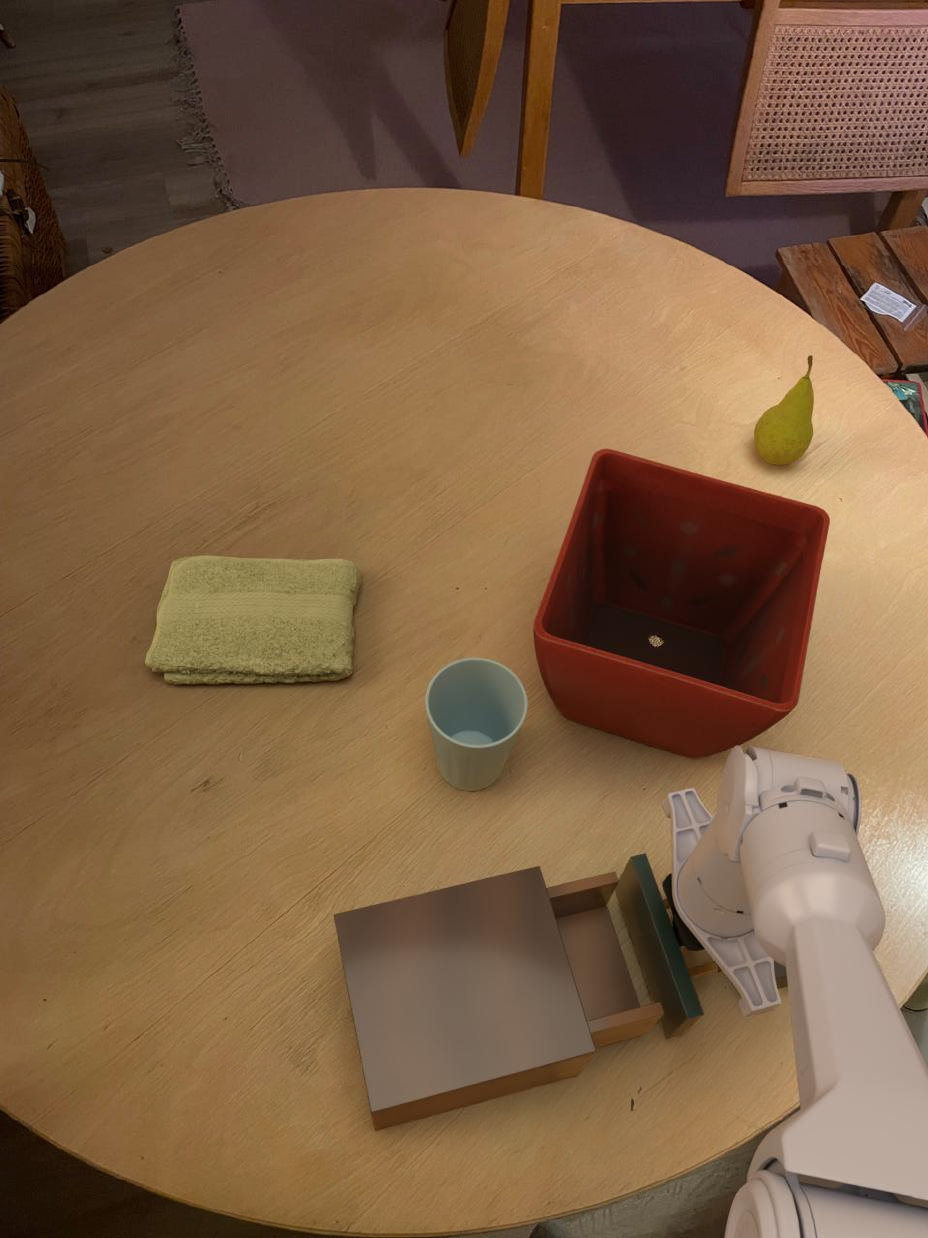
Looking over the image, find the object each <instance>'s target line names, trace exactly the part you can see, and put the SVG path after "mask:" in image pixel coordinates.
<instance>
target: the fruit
mask: <svg viewBox="0 0 928 1238" xmlns="http://www.w3.org/2000/svg"><path fill="white" fill-rule="evenodd" d="M806 360H807V365H808V367H807V370H806V371H807V372H806V374H805V375H804V376H801V377H800V378H799V379H798V381H797V383H796V384H795V385H794V386H793V387H792V388H791V389H790V390H789V391H787V393H786V394H785V396H784V397H783V398H782V399H781V401H780V402H779V403H778V404H776V405H773V406H771V407H770V408H768V409H767V410H766V411H764V412H763V413H762V414H761V416H760V417H759V418H758V420H757V422H756V423H755V426H754V429H753V441H754V447H755V449H756V453H757V454H758V456H759V457H760V458H761V459H762V460H764V461H765V462H767V463H768V464H772V465H778V466H779V465H780V466H782V465H788V464H791V463H794V462H796V461H797V460H799V459H800V458H802V457H803V456H804V454H806V453H807V450H808V449H809V447H810V445H811V443H812V440H813V436H814V425H813V412H814V404H815V403H814V402H815V394H814V388H813V383H812V380H811V378H810V375H811V372H812V368H813V360H814V359H813V355H811V354H810V355H808V356H807V359H806Z"/></svg>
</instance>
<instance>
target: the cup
mask: <svg viewBox="0 0 928 1238" xmlns="http://www.w3.org/2000/svg"><path fill="white" fill-rule="evenodd" d="M424 705H425V707H424V708H425V712H426V717H427V722H428V726H429V730H430V734H431V741H432V746H433V750H434V755H435V759H436V760H435V761H436V764H437V769H438V772H439V773H440V775H441V776H442V778H443V779H444V781H445V782H446V783H448V784H449V785H450V786H451V787H454V788H455V789H457V790H460V791H464V792H465V791H466V792H476V791H477V792H478V791H481V790H485V789H486V788H489V787H490V786H492V785H493V784H494V783H495V782H496V781H497V780H498V779H499V778H500V775H501V774H502V772H503V769H504V767H505V765H506V762H507V760H508V758H509V756H510V753H511V751H512V749H513V747H514V744H515V742H516V739H517V738H518V735H519V734H520V732H521V729H522V727H523V725H524V723H525V721H526V718H527V714H528V710H529V709H528V708H529V700H528V694H527V691H526V688H525V686H524V684H523V682H522V680H521V679H520V678H519V676H518V675H517V674H516V673H515V672H514V671H513V670H511V669H510V668H509V667H508V666H506V665H504V664H502V663H501V662H498V661H497V660H493V659H489V658H485V657H466V658H465V657H464V658H460V659H457V660H455V661H452V662H450V663H448V664H446V665H445V666H443V667H442V668H441V669H440V670H438V671H437V672H436V673H435V675H434V676H433V677H432V679H431V680H430V682H429V684H428V686H427V688H426V692H425V698H424Z"/></svg>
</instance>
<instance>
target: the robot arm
mask: <svg viewBox="0 0 928 1238" xmlns="http://www.w3.org/2000/svg"><path fill="white" fill-rule="evenodd" d="M862 803H863V802H862V789H861V786H860V782H859V779H858V778H857V776H856V775H855V774H853V773H847V770H846V769H845V766H844V765H843V764H842V763H841V762H840V761H836V760H830V759H825V758H819V757H814V756H807V755H803V754H798V753H791V752H787V751H786V752H785V751H781V750H776V749H770V748H769V749H768V748H764V747H759V746H758V747H757V746H748V747H747V748H746V749H745V750H744V751H743V748H742V746H741V745H739V746H738V745H737V746H735V747H734V748H731V749H730V752H729V754H728V756H727V758H726V762H725V764H724V767H723V771H722V775H721V779H720V782H719V786H718V791H717V798H716V808H715V810H716V811H715V814H714V816H713V815H712V813H711V812H710V811H709V810H708V808H707V807H706V806H705V804H704V803H703V801H702V800H701V798H700V796H699V794H698V792H697V789H696V787H690V788H689V787H688V788H683V789H681V790H676V791H672V792H667V794H666V796H665V798H664V800H663V802H662V804H661V806H662V809H663V812H664V814H665V817H667V818H669V819H670V840H671V841H670V845H671V846H670V847H671V848H670V849H671V855H670V856H671V873H668V874H667V875H666V876H665V877H664V879H663V881H662V883H661V884H662V885H661V886H662V890H663V891H664V895H665V899H667V901H668V903H669V906H670V908H669V909H670V912H671V916H672V917H671V924H672V927H673V930H674V932H675V935H676V938H677V941H678V943H679V946H680V948H686V951H688V952H700V951H706V952H707V953H708V955H709V956H710V957H711V959H712V960H713V959H714V961H715V962H716V963H717V965H718V966H719V967H720V968H721V970H722V971H723V972H724V973H725V974H724V975H725V977H727V979H728V980H729V981H730V982H731V983H732V985H733V987H734V988H735V989H736V991H737V992H738V994H739V995H740V997H741V998H740V999H739V1000H738V1006H739V1009H740V1011H741V1014H742V1016H743V1018H744V1019H747V1018H751V1017H755V1016H758V1015H762V1014H766V1013H769V1012H772V1011H774V1010H775V1009H776V1008H779V1006H780V1005H781V1004H783V1001H782V998H781V995H780V992H779V989H777V985H776V980H775V972H774V960H775V961H776V962H778V963H779V964H781V965H783V966H785V967H786V972H787V982H788V986H787V991H788V1000H789V1001H788V1002H789V1011H790V1020H791V1031H792V1040H793V1041H792V1042H793V1050H794V1059H795V1070H796V1079H797V1081H796V1082H797V1089H798V1090H797V1091H798V1098H799V1099H798V1100H799V1110H797V1111H796V1112H794V1113H793V1114H792V1115H790V1116H789V1117H787V1118H786V1119H785V1120H784V1121H783V1122H781V1123H780V1124H778V1125H777V1126H775V1127H773V1128H772V1129H771V1130H770V1131H769V1132H768V1133H767V1134H766V1135H765V1136H764V1138H763V1139H762V1140H761V1141H760V1143H759V1145H758V1146H757V1148H756V1150H755V1152H754V1155H753V1157H752V1160H751V1162H750V1165H749V1168H748V1171H747V1174H746V1183H744V1184H743V1185H742V1186H740V1188H739V1189H738V1190H737V1192H736V1194H735V1195H734V1198H733V1200H732V1202H731V1206H730V1209H729V1212H728V1217H727V1221H726V1226H725V1230H724V1237H723V1238H928V1065H927V1064H926V1061H925V1059H924V1058H923V1054H922V1053H921V1051H920V1049H919V1047H918V1045H917V1042H916V1040H915V1037H914V1036H913V1034H912V1032H911V1029H910V1028H909V1025H908V1024H907V1021H906V1019H905V1017H904V1015H903V1013H902V1011H901V1008H900V1006H899V1004H898V1002H897V999H896V998H895V995H894V993H893V990H891V989H892V988H891V987H890V985H889V982H888V981H887V978H886V976H885V974H884V972H883V970H882V967H881V966H880V964H879V962H878V959H877V957H876V955H875V953H874V951H875V950H876V949H877V947H878V946H879V945H880V942H881V940H882V938H883V936H884V932H885V928H886V912H885V908H884V906H883V903H882V901H881V897H880V895H879V892H878V890H877V886H876V884H875V881H874V878H873V876H872V873H871V871H870V867H869V865H868V862H867V860H866V857H865V855H864V852H863V849H862V846H861V843H860V840H859V839H858V838H859V837H858V836H859V833H860V827H861V821H862V811H863V809H862V807H863V804H862ZM714 961H713V962H714Z"/></svg>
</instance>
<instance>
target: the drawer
mask: <svg viewBox="0 0 928 1238" xmlns="http://www.w3.org/2000/svg"><path fill="white" fill-rule="evenodd" d="M618 877H619V876H618V874H617V871H611V872H606V873H603V874H599V875H593V876H590V877H586V878H581V879H577V880H574V881H569V882H565V883H561V884H557V885H556V884H555V885H553V886H548V887H546V888H547V892H548V895H549V898H550V901H551V905H552V908H553V911H554V914H555V918H556V921H557V924H558V928H559V931H560V934H561V937H562V941H563V944H564V947H565V951H566V954H567V957H568V960H569V964H570V967H571V970H572V973H573V977H574V980H575V983H576V987H577V990H578V993H579V996H580V1000H581V1003H582V1006H583V1010H584V1013H585V1016H586V1019H587V1023H588V1026H589V1029H590V1032H591V1036H592V1039H593V1042H594V1046H595V1049H596V1048H600V1047H604V1046H607V1045H610V1044H614V1043H618V1042H622V1041H625V1040H628V1039H629V1040H630V1039H632V1038H636V1037H640V1036H644V1035H647V1034H648V1033H649V1032H650V1030H651V1029H652V1028H653V1027H654V1026H655V1025H656V1024H657V1023H658V1022H659V1023H660V1025H661V1028H662V1032H663V1034H664V1038H665V1040H667V1041H668V1040H672V1039H676V1038H679V1037H682V1036H683V1035H684V1034H686V1032H687V1031H688V1030H690V1028H692V1027H693V1026H694V1025H695V1024H696V1023H697V1022H698V1021H699V1020H700V1019H701V1018H702V1017H703V1016H704V1015H705V1012H704V1010H703V1007H702V1004H701V1001H700V999H699V996H698V993H697V991H696V988H695V985H694V982H693V980H692V978H697V977H701V976H704V975H709V974H712V973H715V972H717V974H718V975H725V973H724V972H723V971H722V970H721V968H720V967H719V966H718V965H717V963H716V962H715V961H714V959H713V958H712V960H713V961H710V962H706V963H703V964H698V965H695V966H691V967H688V965H687V963H686V960H685V957H684V955H683V952H682V949H681V947H680V946H679V943H678V941H677V938H676V935H675V932H674V930H673V927H672V920H671V919H670V916H669V913H668V910H669V909H670V906H669V903H668V901H667V898H664V899H663V897H662V894H661V892H660V889H659V886H658V883H657V881H656V878H655V875H654V873H653V869H652V867H651V864H650V861H649V859H648V855H647V853H645V852H644V853H640V854H637V855H632V856H630V857H629V859H628V861H627V862H626V865H625V866H624V868H623V871H622V873H621V874H620V877H619V878H618ZM614 892H615V893H616V897H617V900H618V902H619V905H620V908H621V912H622V915H623V917H624V920H625V922H626V925H627V929H628V932H629V934H630V938H631V940H632V943H633V946H634V949H635V952H636V955H637V959H638V961H639V963H640V967H641V969H642V973H643V975H644V979H645V982H646V985H647V987H648V990H649V994H650V996H651V1000H652V1002H653V1003H650V1004H646V1005H642V1006H641V1005H640V1001H639V999H638V995H637V993H636V989H635V987H634V984H633V982H632V981H633V980H632V978H631V974H630V972H629V969H628V966H627V963H626V960H625V956H624V953H623V950H622V948H621V945H620V942H619V939H618V936H617V933H616V930H615V926H614V924H613V921H612V917H611V915H610V911H609V909H608V905H609V902H610V900H611V898H612V896H613V894H614ZM667 909H668V910H667Z"/></svg>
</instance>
